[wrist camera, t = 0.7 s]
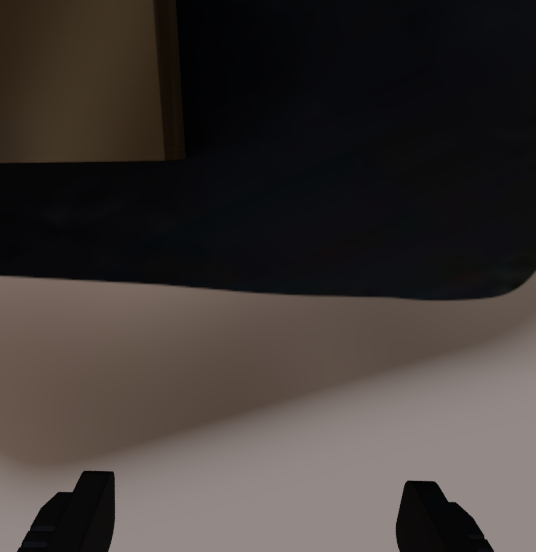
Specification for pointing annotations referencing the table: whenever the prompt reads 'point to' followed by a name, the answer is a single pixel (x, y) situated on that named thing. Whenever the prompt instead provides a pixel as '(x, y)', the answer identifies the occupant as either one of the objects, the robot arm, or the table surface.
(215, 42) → the table surface
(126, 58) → the cabinet
